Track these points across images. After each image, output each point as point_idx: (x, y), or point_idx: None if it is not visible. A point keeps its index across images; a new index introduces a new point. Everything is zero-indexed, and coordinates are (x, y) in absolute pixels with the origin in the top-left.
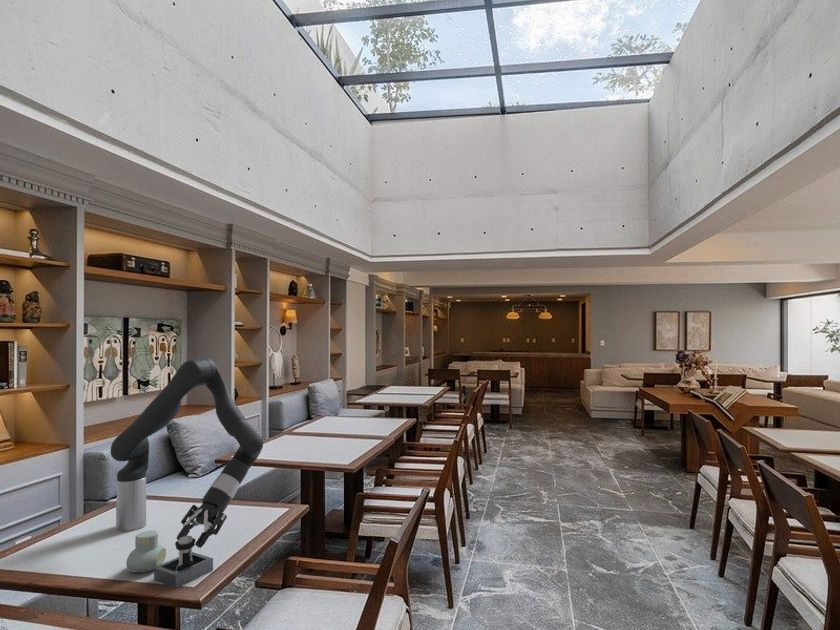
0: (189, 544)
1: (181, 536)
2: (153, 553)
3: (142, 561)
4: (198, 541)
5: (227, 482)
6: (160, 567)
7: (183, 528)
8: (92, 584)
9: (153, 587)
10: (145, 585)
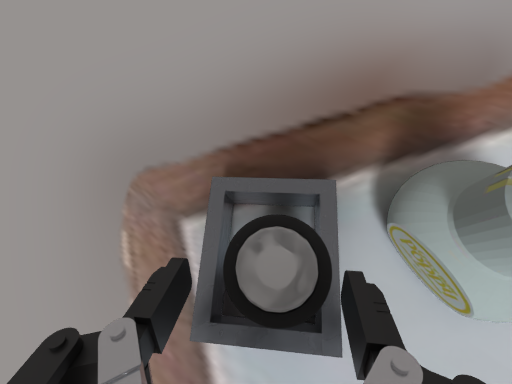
0: (226, 253)
1: (348, 296)
2: (425, 217)
3: (415, 179)
4: (165, 268)
5: None
6: (314, 190)
7: (374, 329)
8: (465, 104)
9: (287, 168)
10: (319, 165)
